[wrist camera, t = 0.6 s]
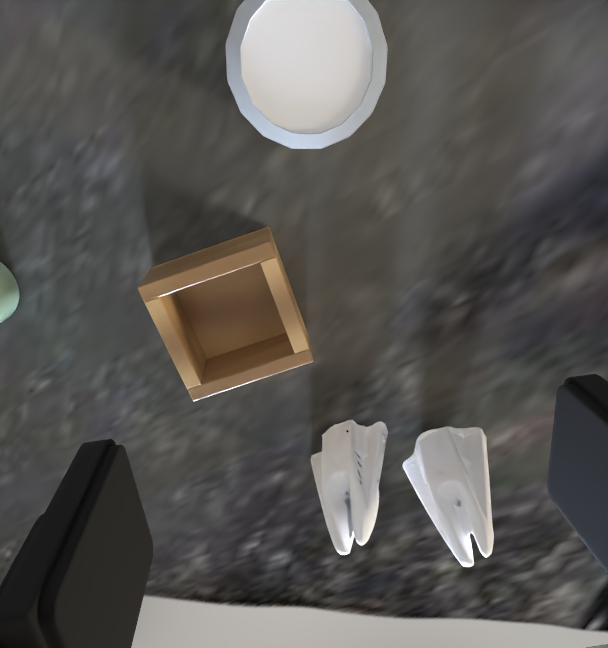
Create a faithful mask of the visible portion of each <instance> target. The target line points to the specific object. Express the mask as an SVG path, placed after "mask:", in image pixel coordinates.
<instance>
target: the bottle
mask: <svg viewBox="0 0 608 648" xmlns="http://www.w3.org/2000/svg"><path fill="white" fill-rule="evenodd" d="M18 301H19V288H18V284H17V282H16V280H15V278H14V276H13V274H12V273H11V271H10V270H9V269H8V268H7V267H6V266H5V265H4V264H3V263H1V262H0V324H1V323H2V322H3V321H4V320H6V319H7V318H8V317H9V316H10V315H12V313H13V312H14V311H15V309H16V307H17V305H18Z"/></svg>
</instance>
